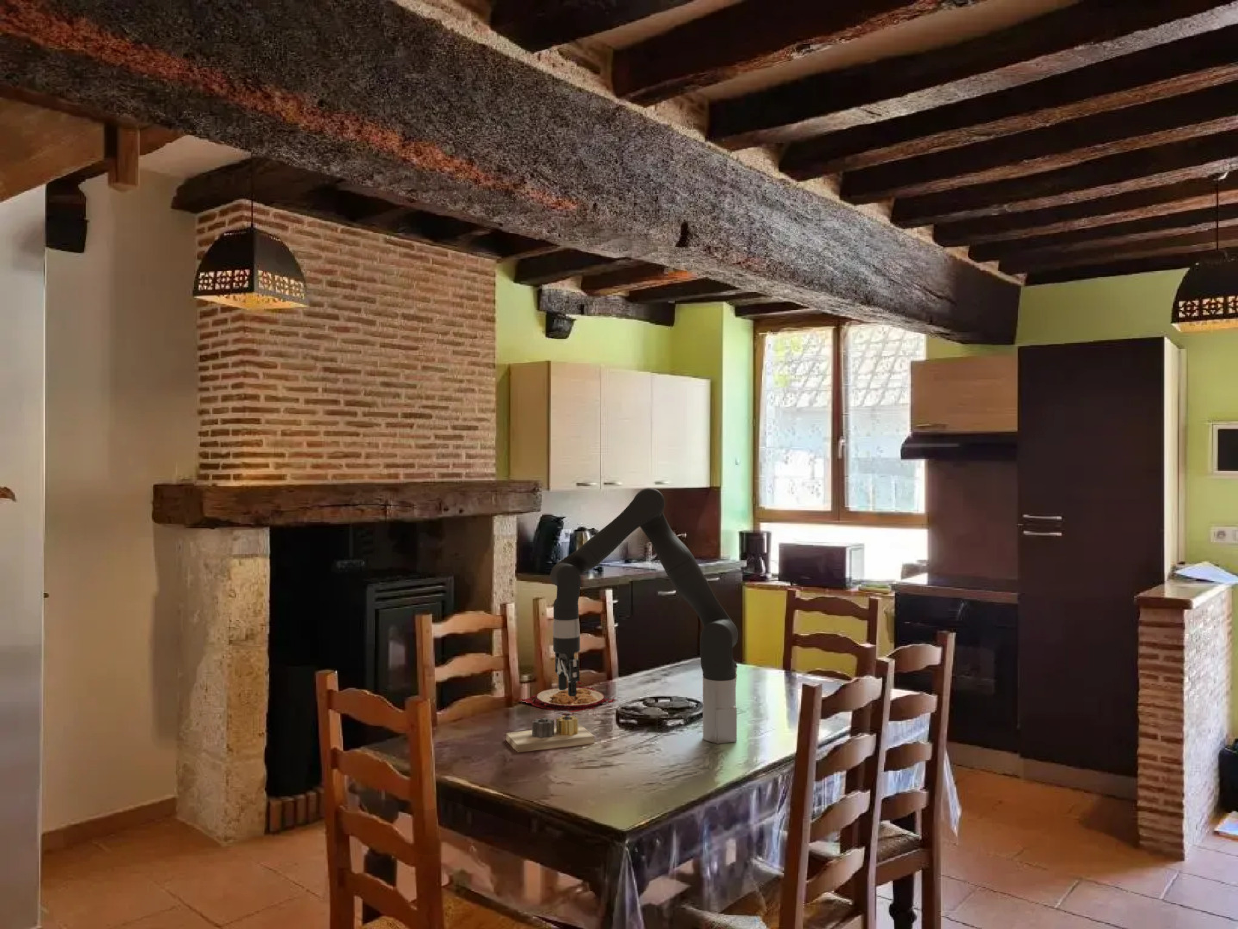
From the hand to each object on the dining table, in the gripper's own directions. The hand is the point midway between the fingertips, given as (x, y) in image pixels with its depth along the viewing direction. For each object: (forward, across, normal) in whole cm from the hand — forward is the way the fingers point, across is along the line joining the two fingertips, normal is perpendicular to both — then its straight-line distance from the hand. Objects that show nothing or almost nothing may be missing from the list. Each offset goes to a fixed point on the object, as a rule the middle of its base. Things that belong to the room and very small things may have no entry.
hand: (567, 692), depth 262 cm
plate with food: (+14, +40, -15) cm, 45 cm away
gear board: (+13, +1, +5) cm, 14 cm away
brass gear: (+11, +1, 0) cm, 11 cm away
